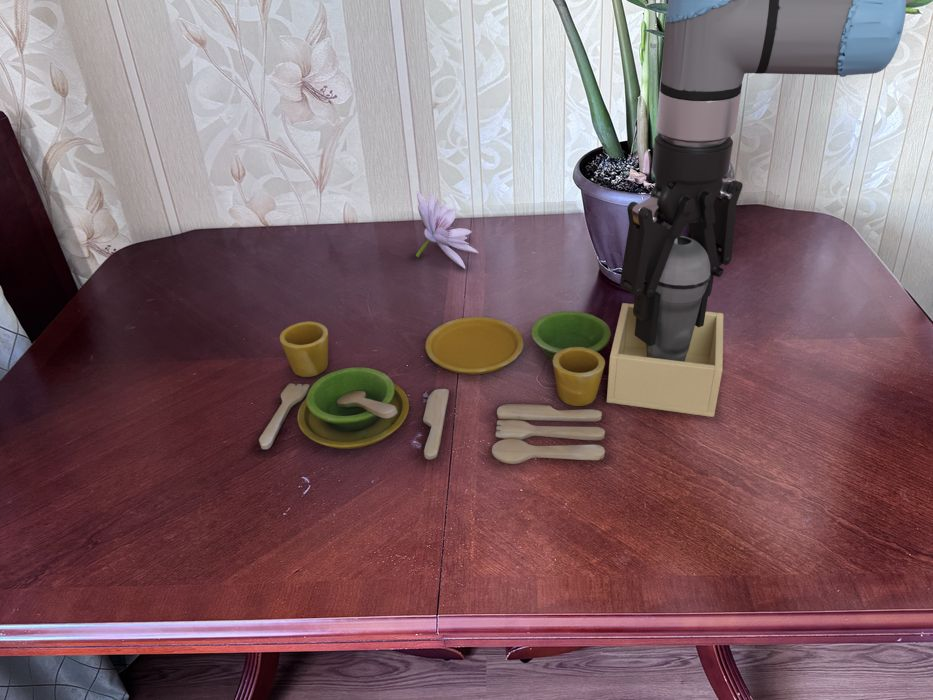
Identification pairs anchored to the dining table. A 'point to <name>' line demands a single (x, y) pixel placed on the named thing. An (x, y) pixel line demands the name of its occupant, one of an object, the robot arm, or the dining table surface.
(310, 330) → the tableware set
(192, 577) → the dining table surface
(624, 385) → the box
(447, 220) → the water lily
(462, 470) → the dining table surface
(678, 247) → the beverage cup
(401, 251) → the dining table surface
